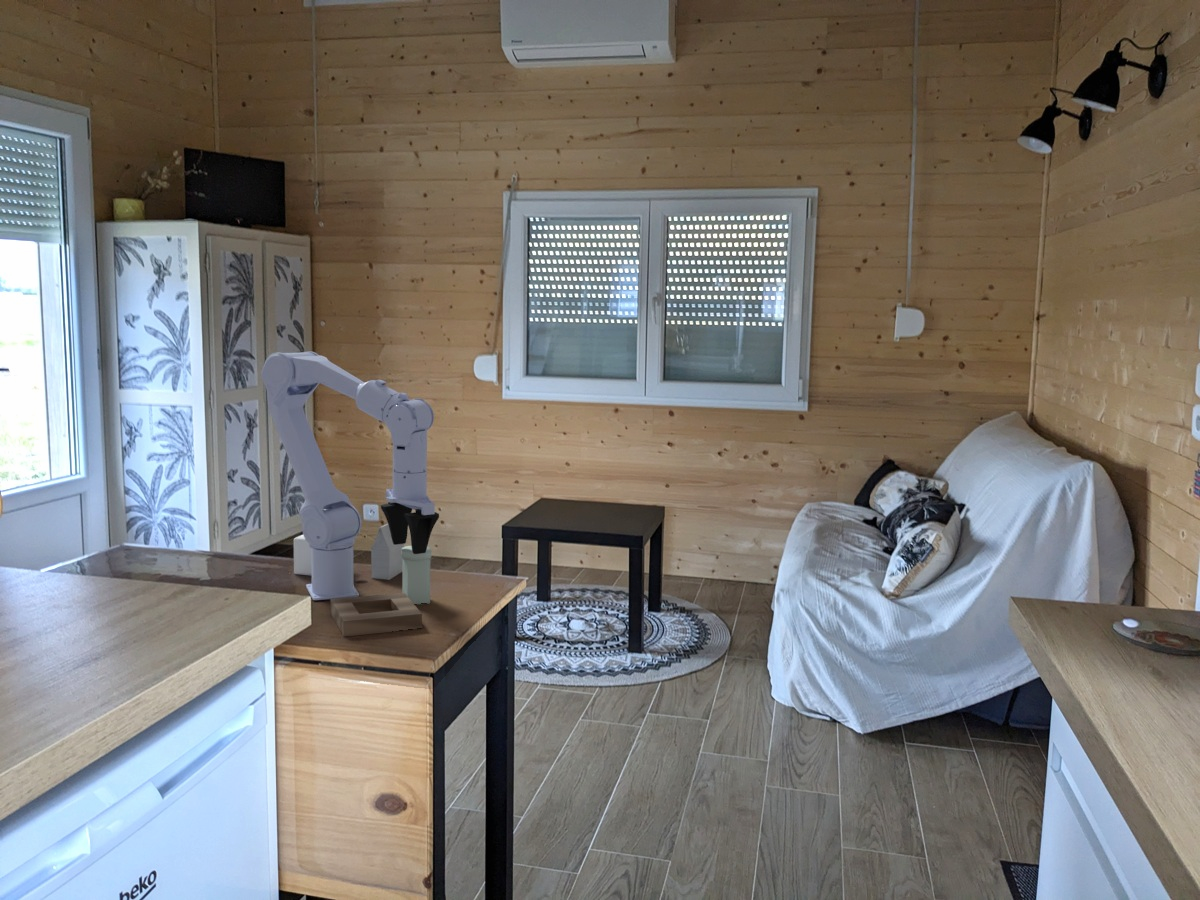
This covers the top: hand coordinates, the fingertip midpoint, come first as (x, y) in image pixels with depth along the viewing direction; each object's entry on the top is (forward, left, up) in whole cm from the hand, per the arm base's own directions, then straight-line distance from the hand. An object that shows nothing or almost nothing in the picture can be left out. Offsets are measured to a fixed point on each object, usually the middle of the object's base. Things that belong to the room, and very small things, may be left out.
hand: (409, 548), depth 171 cm
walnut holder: (+6, -7, -10) cm, 14 cm away
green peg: (-3, +2, -10) cm, 11 cm away
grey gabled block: (-22, +1, -11) cm, 24 cm away
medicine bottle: (-28, -11, -11) cm, 32 cm away
